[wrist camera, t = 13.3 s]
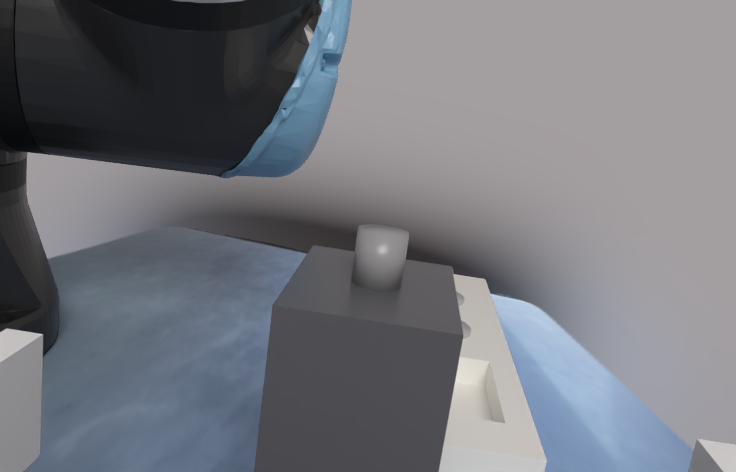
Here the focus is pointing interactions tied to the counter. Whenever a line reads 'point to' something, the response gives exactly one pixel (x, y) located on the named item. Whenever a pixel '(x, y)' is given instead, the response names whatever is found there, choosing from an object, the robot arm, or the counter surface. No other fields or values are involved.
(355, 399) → the grey block with knob
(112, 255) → the counter surface
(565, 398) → the counter surface
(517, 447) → the power strip
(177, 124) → the robot arm
